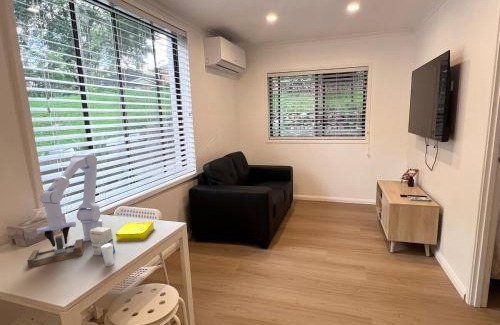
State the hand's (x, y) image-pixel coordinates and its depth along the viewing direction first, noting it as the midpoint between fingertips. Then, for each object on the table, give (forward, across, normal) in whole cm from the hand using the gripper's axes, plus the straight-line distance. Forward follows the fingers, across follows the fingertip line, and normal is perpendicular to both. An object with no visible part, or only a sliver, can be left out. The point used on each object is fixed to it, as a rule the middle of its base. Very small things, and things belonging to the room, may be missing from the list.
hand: (60, 244), depth 129 cm
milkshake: (+6, +20, -21) cm, 29 cm away
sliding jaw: (+4, 0, 0) cm, 4 cm away
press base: (+5, -2, 0) cm, 6 cm away
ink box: (+6, +18, -8) cm, 20 cm away
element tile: (+6, +32, +6) cm, 33 cm away
